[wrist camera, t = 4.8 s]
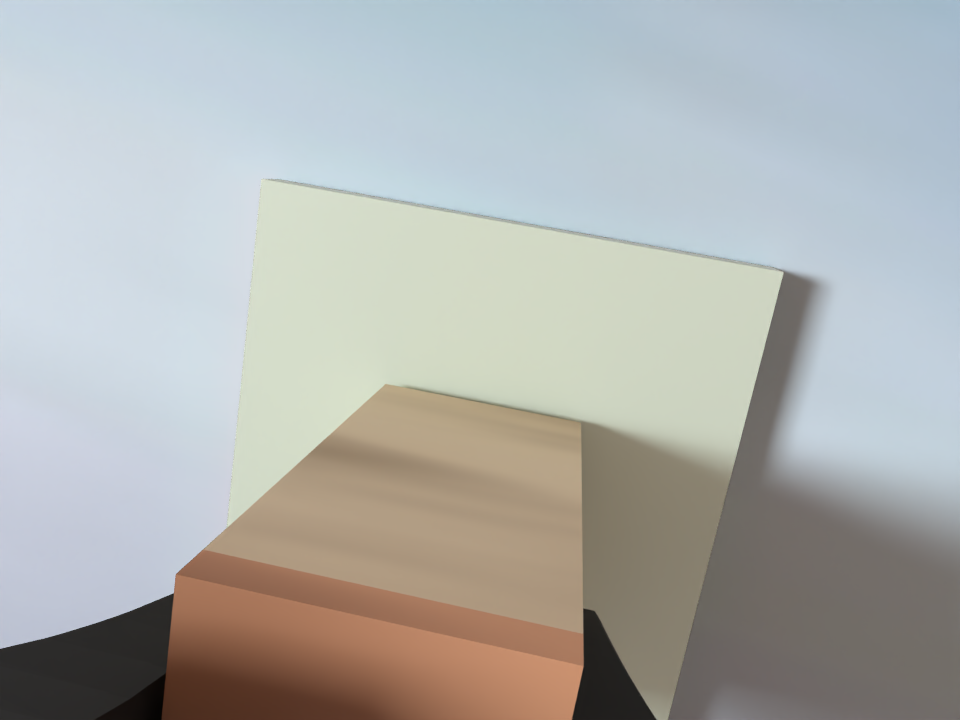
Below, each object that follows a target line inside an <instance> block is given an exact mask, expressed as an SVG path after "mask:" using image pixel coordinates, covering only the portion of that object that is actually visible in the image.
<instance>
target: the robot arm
mask: <svg viewBox="0 0 960 720" xmlns="http://www.w3.org/2000/svg"><path fill="white" fill-rule="evenodd" d="M173 598H174V594H171V595H169V596H166V597H164V598H161V599H159V600H157V601H154V602H152V603H149V604H147V605H144V606H142V607H140V608H137V609H135V610H132V611H130V612H127V613H124V614H121V615H119V616H116V617H113V618H110V619H107V620H104V621H101V622H98V623H95V624H92V625H89V626H86V627H82V628H79V629H76V630H73V631H69V632H66V633H63V634H59V635H56V636H52V637H49V638H45V639H41V640H36V641H32V642H28V643H24V644H19V645H15V646H11V647H6V648H2V649H0V720H161V719H162V709H163V699H164V689H165V679H166V669H167V659H168V649H169V639H170V629H171V619H172V609H173ZM583 655H584V667H583V671H582V676H581V680H580V685H579V689H578V694H577V698H576V703H575V707H574V712H573V716H572V720H657V719H656V718H655V716H654V715H653V713H652V712H651V710H650V709H649V707H648V706H647V704H646V702H645V701H644V699H643V697H642V696H641V694H640V692H639V691H638V689H637V687H636V686H635V684H634V683H633V681H632V679H631V678H630V676H629V674H628V672H627V671H626V669H625V667H624V665H623V663H622V662H621V660H620V658H619V656H618V654H617V652H616V650H615V648H614V647H613V645H612V643H611V641H610V639H609V637H608V635H607V633H606V631H605V629H604V627H603V624H602V622H601V620H600V619H599V617H598V615H597V614H596V612H595V611H593V610H589V609H584V608H583Z"/></svg>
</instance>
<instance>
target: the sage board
mask: <svg viewBox="0 0 960 720" xmlns="http://www.w3.org/2000/svg"><path fill="white" fill-rule="evenodd" d="M783 274H784V272H782V271H780V270H778V269H775V268H773V267H768V266H763V265H757V264H752V263H746V262H740V261H735V260H729V259H724V258H718V257H712V256H707V255H701V254H695V253H690V252H684V251H679V250H673V249H667V248H662V247H656V246H651V245H645V244H639V243H634V242H628V241H622V240H617V239H611V238H606V237H600V236H594V235H589V234H583V233H578V232H572V231H566V230H561V229H555V228H549V227H544V226H538V225H533V224H527V223H521V222H516V221H510V220H505V219H499V218H493V217H488V216H482V215H477V214H471V213H465V212H460V211H454V210H448V209H443V208H437V207H432V206H426V205H420V204H415V203H409V202H404V201H398V200H392V199H387V198H381V197H375V196H370V195H364V194H359V193H353V192H347V191H342V190H336V189H331V188H325V187H319V186H314V185H308V184H302V183H297V182H291V181H286V180H280V179H261V189H260V199H259V209H258V219H257V229H256V239H255V249H254V259H253V269H252V279H251V289H250V299H249V309H248V319H247V329H246V339H245V349H244V359H243V369H242V379H241V389H240V399H239V409H238V419H237V429H236V439H235V449H234V459H233V469H232V479H231V489H230V499H229V509H228V519H227V527H229V526H230V525H231V524H232V523H233V522H234V521H235V520H236V519H237V518H238V517H240V516H241V515H242V514H243V513H244V512H245V511H246V510H247V509H248V508H249V507H251V506H252V505H253V504H254V503H255V502H256V501H257V500H258V499H259V498H261V497H262V496H263V495H264V494H265V493H266V492H267V491H268V490H269V489H270V488H272V487H273V486H274V485H275V484H276V483H277V482H278V481H279V480H280V479H281V478H283V477H284V476H285V475H286V474H287V473H288V472H289V471H290V470H291V469H292V468H294V467H295V466H296V465H297V464H298V463H299V462H300V461H301V460H302V459H303V458H305V457H306V456H307V455H308V454H309V453H310V452H311V451H312V450H313V449H314V448H316V447H317V446H318V445H319V444H320V443H321V442H322V441H323V440H324V439H326V438H327V437H328V436H329V435H330V434H331V433H332V432H333V431H334V430H335V429H337V428H338V427H339V426H340V425H341V424H342V423H343V422H344V421H345V420H346V419H348V418H349V417H350V416H351V415H352V414H353V413H354V412H355V411H356V410H357V409H359V408H360V407H361V406H362V405H363V404H364V403H365V402H366V401H367V400H368V399H370V398H371V397H372V396H373V395H374V394H375V393H376V392H377V391H378V390H380V389H381V388H382V387H383V386H384V385H385V384H389V385H394V386H399V387H404V388H409V389H414V390H419V391H424V392H429V393H434V394H440V395H445V396H450V397H455V398H460V399H465V400H470V401H475V402H480V403H485V404H490V405H495V406H500V407H505V408H510V409H515V410H520V411H525V412H530V413H535V414H540V415H545V416H550V417H555V418H560V419H565V420H570V421H575V422H580V423H581V458H582V556H583V608H584V609H589V610H593V611H595V612H596V614H597V615H598V617H599V619H600V620H601V622H602V624H603V627H604V629H605V631H606V633H607V635H608V637H609V639H610V641H611V643H612V645H613V647H614V648H615V650H616V652H617V654H618V656H619V658H620V660H621V662H622V663H623V665H624V667H625V669H626V671H627V672H628V674H629V676H630V678H631V679H632V681H633V683H634V684H635V686H636V687H637V689H638V691H639V692H640V694H641V696H642V697H643V699H644V701H645V702H646V704H647V706H648V707H649V709H650V710H651V712H652V713H653V715H654V716H655V718H656V719H657V720H668V717H669V713H670V710H671V706H672V702H673V698H674V694H675V690H676V686H677V683H678V679H679V675H680V671H681V667H682V663H683V659H684V656H685V652H686V648H687V644H688V640H689V636H690V632H691V628H692V625H693V621H694V617H695V613H696V609H697V605H698V601H699V598H700V594H701V590H702V586H703V582H704V578H705V574H706V571H707V567H708V563H709V559H710V555H711V551H712V547H713V544H714V540H715V536H716V532H717V528H718V524H719V520H720V517H721V513H722V509H723V505H724V501H725V497H726V493H727V490H728V486H729V482H730V478H731V474H732V470H733V466H734V463H735V459H736V455H737V451H738V447H739V443H740V439H741V436H742V432H743V428H744V424H745V420H746V416H747V412H748V409H749V405H750V401H751V397H752V393H753V389H754V385H755V382H756V378H757V374H758V370H759V366H760V362H761V358H762V355H763V351H764V347H765V343H766V339H767V335H768V331H769V328H770V324H771V320H772V316H773V312H774V308H775V304H776V301H777V297H778V293H779V289H780V285H781V281H782V277H783Z"/></svg>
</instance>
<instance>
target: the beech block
mask: <svg viewBox="0 0 960 720" xmlns="http://www.w3.org/2000/svg"><path fill="white" fill-rule="evenodd" d="M583 667H584V655H583V556H582V458H581V423H580V422H575V421H570V420H565V419H560V418H555V417H550V416H545V415H540V414H535V413H530V412H525V411H520V410H515V409H510V408H505V407H500V406H495V405H490V404H485V403H480V402H475V401H470V400H465V399H460V398H455V397H450V396H445V395H440V394H434V393H429V392H424V391H419V390H414V389H409V388H404V387H399V386H394V385H389V384H385V385H384V386H383V387H382V388H381V389H380V390H378V391H377V392H376V393H375V394H374V395H373V396H372V397H371V398H370V399H368V400H367V401H366V402H365V403H364V404H363V405H362V406H361V407H360V408H359V409H357V410H356V411H355V412H354V413H353V414H352V415H351V416H350V417H349V418H348V419H346V420H345V421H344V422H343V423H342V424H341V425H340V426H339V427H338V428H337V429H335V430H334V431H333V432H332V433H331V434H330V435H329V436H328V437H327V438H326V439H324V440H323V441H322V442H321V443H320V444H319V445H318V446H317V447H316V448H314V449H313V450H312V451H311V452H310V453H309V454H308V455H307V456H306V457H305V458H303V459H302V460H301V461H300V462H299V463H298V464H297V465H296V466H295V467H294V468H292V469H291V470H290V471H289V472H288V473H287V474H286V475H285V476H284V477H283V478H281V479H280V480H279V481H278V482H277V483H276V484H275V485H274V486H273V487H272V488H270V489H269V490H268V491H267V492H266V493H265V494H264V495H263V496H262V497H261V498H259V499H258V500H257V501H256V502H255V503H254V504H253V505H252V506H251V507H249V508H248V509H247V510H246V511H245V512H244V513H243V514H242V515H241V516H240V517H238V518H237V519H236V520H235V521H234V522H233V523H232V524H231V525H230V526H229V527H227V528H226V529H225V530H224V531H223V532H222V533H221V534H220V535H219V536H218V537H216V538H215V539H214V540H213V541H212V542H211V543H210V544H209V545H208V546H207V547H205V548H204V549H203V550H202V551H201V552H200V553H199V554H198V555H197V556H196V557H194V558H193V559H192V560H191V561H190V562H189V563H188V564H187V565H186V566H184V567H183V568H182V569H181V570H180V571H179V572H178V573H177V574H176V578H175V588H174V598H173V609H172V619H171V629H170V639H169V649H168V659H167V669H166V679H165V689H164V699H163V709H162V719H161V720H572V716H573V712H574V707H575V703H576V698H577V694H578V689H579V685H580V680H581V676H582V671H583Z"/></svg>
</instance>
